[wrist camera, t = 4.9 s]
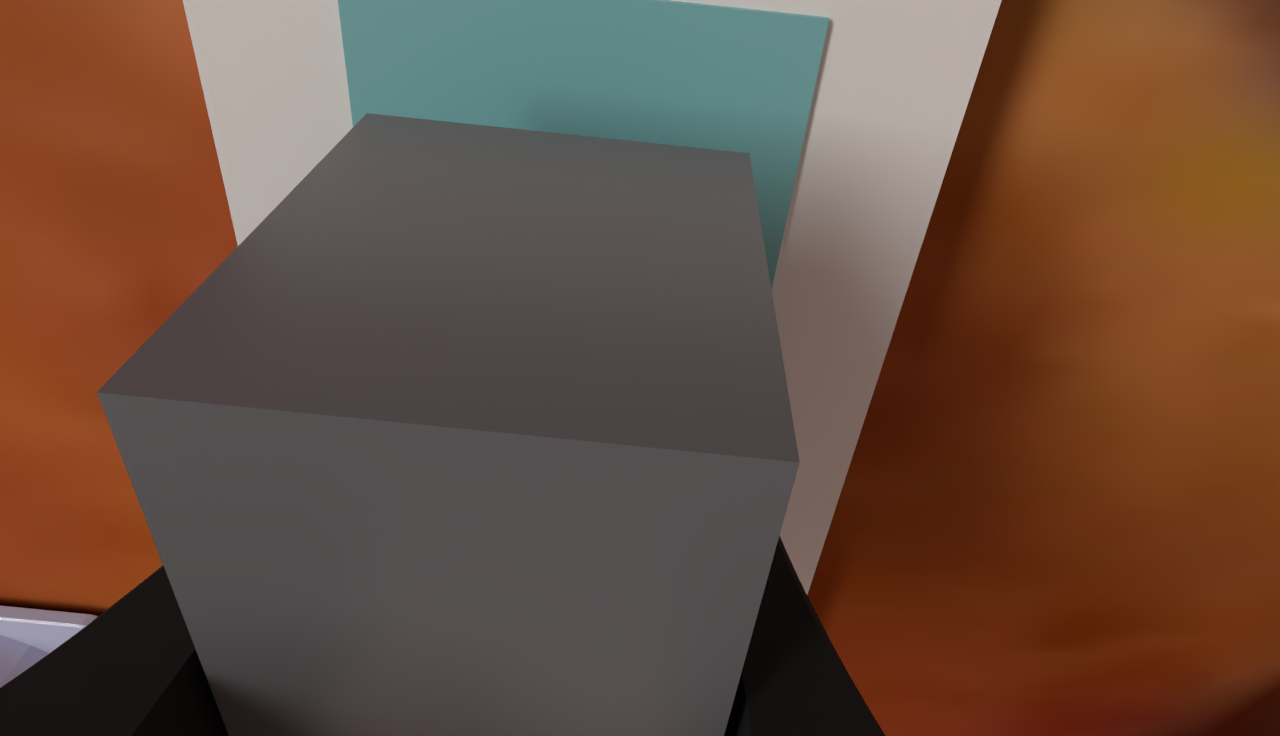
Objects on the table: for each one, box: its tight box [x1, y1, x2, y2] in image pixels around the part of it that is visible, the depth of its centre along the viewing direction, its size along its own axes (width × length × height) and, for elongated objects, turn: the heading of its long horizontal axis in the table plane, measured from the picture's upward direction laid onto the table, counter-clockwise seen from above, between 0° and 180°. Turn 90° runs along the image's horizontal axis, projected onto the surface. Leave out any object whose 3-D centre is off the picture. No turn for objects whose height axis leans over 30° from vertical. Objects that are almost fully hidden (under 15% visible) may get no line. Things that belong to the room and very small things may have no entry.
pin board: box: [183, 0, 1002, 595], centre depth 12 cm, size 16×10×5 cm, turn 175°
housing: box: [97, 113, 800, 736], centre depth 9 cm, size 9×4×5 cm, turn 175°
